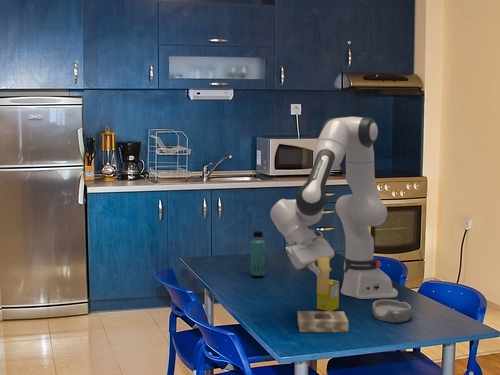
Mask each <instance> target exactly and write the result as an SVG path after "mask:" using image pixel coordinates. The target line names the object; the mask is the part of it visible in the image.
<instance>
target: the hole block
mask: <svg viewBox="0 0 500 375" xmlns="http://www.w3.org/2000/svg"><path fill="white" fill-rule="evenodd" d="M297 324H298V327H299V329H298V330H299V332H300V333H349V319H348V318H347V316H346V314H345V311H344V310H343V311H339V310H337V311H317V310H314V311H313V310H300V311H299V310H297Z"/></svg>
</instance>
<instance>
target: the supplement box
mask: <svg viewBox="0 0 500 375" xmlns="http://www.w3.org/2000/svg"><path fill="white" fill-rule="evenodd" d="M316 294H317V295H316V300H317V301H316V311H339V310H340V309H339V308H340V307H339V306H340V305H339V303H340V301H339V300H340V281H339V280H334V279H330V278H329V293H328V294H318V293H317V292H316Z"/></svg>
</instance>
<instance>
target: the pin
mask: <svg viewBox="0 0 500 375" xmlns="http://www.w3.org/2000/svg"><path fill="white" fill-rule="evenodd" d="M330 260H331V259H330V258H329V257H318V263H317V264H316V265H317V266H316V267H317V268H318V269H321V271H322V272H323V273H322V274H321V275H319V276H317V275H316V277H317V278H316V294H317V293H318V294H328V293H329V279H330V272H329V267H330Z"/></svg>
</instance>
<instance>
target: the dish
mask: <svg viewBox="0 0 500 375" xmlns="http://www.w3.org/2000/svg"><path fill="white" fill-rule="evenodd" d="M371 308H372V314H373V317H374V318H376V319H377V320H379V321H382V322H386V321H387V323H395V322H396V323H404V322H407V321H410V319H411V316H412V306H411V305H410V304H409V303H408V302H405V301H399V300H397V299H395V300H394V299H378V300H375V301H374V302H372V307H371ZM403 321H404V322H403Z"/></svg>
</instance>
